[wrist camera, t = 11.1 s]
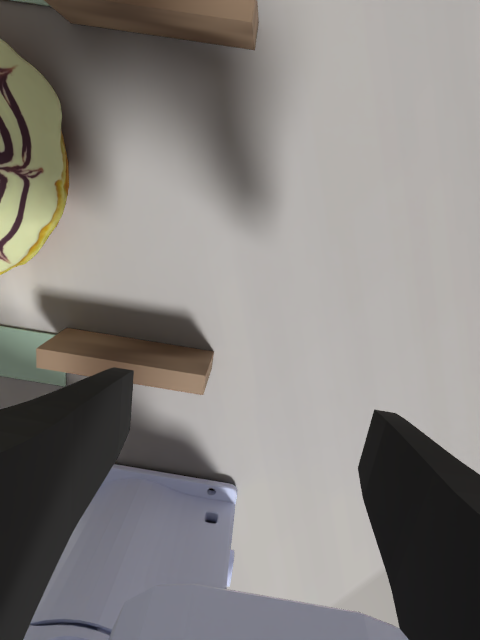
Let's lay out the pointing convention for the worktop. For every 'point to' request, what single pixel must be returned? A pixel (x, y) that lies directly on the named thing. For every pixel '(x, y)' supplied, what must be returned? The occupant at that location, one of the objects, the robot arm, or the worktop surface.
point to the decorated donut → (28, 160)
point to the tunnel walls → (174, 22)
